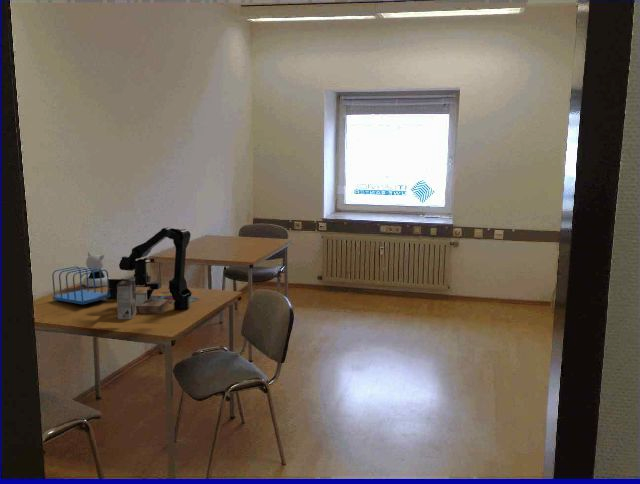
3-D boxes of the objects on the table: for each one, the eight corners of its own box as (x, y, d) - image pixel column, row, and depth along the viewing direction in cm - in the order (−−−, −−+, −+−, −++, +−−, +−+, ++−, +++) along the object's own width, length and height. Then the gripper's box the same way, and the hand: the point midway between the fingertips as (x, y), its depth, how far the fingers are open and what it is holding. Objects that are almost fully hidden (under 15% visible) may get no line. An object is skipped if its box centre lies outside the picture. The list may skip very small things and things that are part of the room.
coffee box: (122, 314, 262) (121, 280, 260) (137, 313, 263) (135, 280, 261) (117, 319, 253) (115, 284, 251) (131, 319, 254) (130, 284, 252)
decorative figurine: (115, 283, 327) (114, 249, 324) (102, 288, 313) (101, 253, 310) (91, 282, 329) (90, 248, 326) (77, 287, 315) (75, 252, 312)
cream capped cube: (148, 303, 282) (148, 290, 281) (145, 306, 276) (144, 293, 275) (138, 303, 282) (137, 290, 281) (134, 306, 276) (133, 293, 276)
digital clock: (129, 288, 313) (129, 272, 312) (141, 290, 311) (140, 274, 309) (112, 294, 300) (111, 277, 299) (124, 295, 298) (123, 278, 296)
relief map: (201, 300, 291) (201, 297, 291) (177, 306, 279) (177, 302, 279) (170, 293, 306) (170, 289, 306) (146, 298, 294) (146, 294, 294)
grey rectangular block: (106, 299, 287) (107, 279, 288) (107, 299, 290) (108, 279, 291) (128, 299, 288) (129, 279, 289) (129, 299, 291) (130, 279, 293)
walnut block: (168, 306, 277) (168, 299, 276) (160, 313, 264) (160, 306, 263) (148, 305, 277) (148, 299, 276) (139, 313, 264) (139, 305, 264)
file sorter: (52, 300, 288) (49, 270, 286) (82, 293, 302) (79, 265, 300) (82, 304, 274) (79, 273, 272) (112, 297, 289) (110, 268, 287)
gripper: (164, 268, 284) (165, 298, 287) (127, 268, 285) (129, 297, 287) (157, 272, 273) (158, 304, 276) (119, 272, 274) (120, 303, 276)
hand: (141, 302), depth 279 cm, fingers open, 6 cm apart
